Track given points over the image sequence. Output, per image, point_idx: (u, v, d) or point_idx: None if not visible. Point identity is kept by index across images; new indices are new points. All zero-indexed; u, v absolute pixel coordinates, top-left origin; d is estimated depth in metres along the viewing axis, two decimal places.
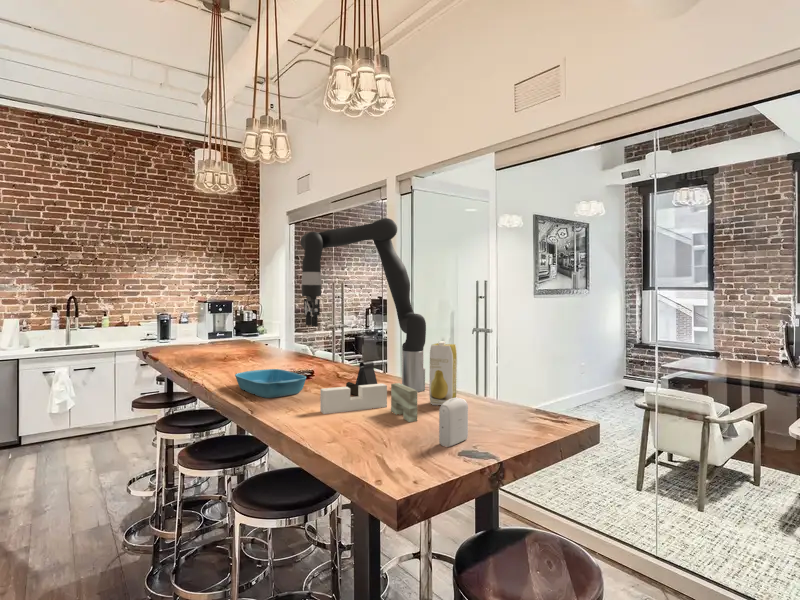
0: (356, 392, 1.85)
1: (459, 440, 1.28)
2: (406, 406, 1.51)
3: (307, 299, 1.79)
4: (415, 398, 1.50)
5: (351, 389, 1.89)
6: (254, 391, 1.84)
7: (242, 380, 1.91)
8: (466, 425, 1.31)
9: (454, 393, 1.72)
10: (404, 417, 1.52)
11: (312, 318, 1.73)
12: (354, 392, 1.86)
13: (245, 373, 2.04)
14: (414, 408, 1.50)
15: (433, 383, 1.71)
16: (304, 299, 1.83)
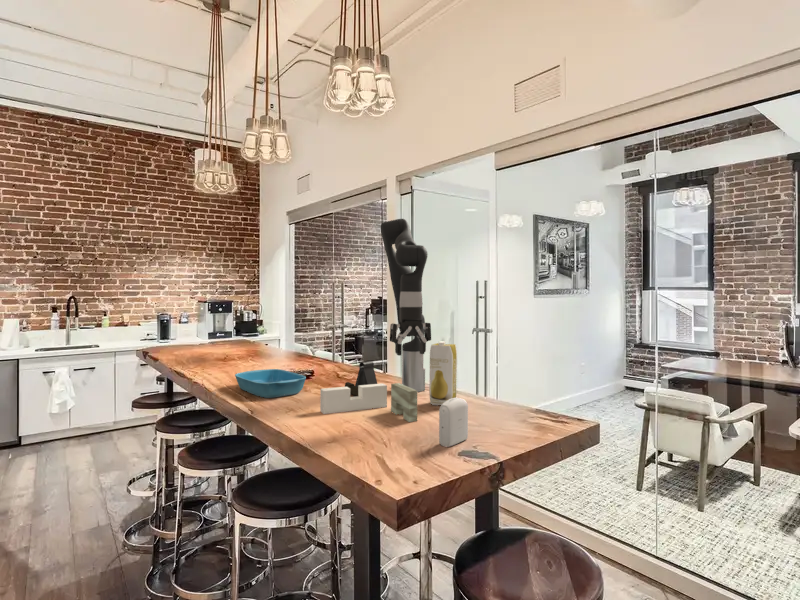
0: (356, 392, 1.84)
1: (459, 440, 1.28)
2: (406, 406, 1.51)
3: (407, 324, 1.50)
4: (415, 398, 1.50)
5: (350, 389, 1.88)
6: (254, 391, 1.84)
7: (242, 380, 1.91)
8: (466, 425, 1.31)
9: (454, 393, 1.72)
10: (404, 417, 1.52)
11: (424, 344, 1.53)
12: (354, 392, 1.86)
13: (245, 373, 2.04)
14: (414, 408, 1.50)
15: (433, 383, 1.71)
16: (396, 324, 1.48)
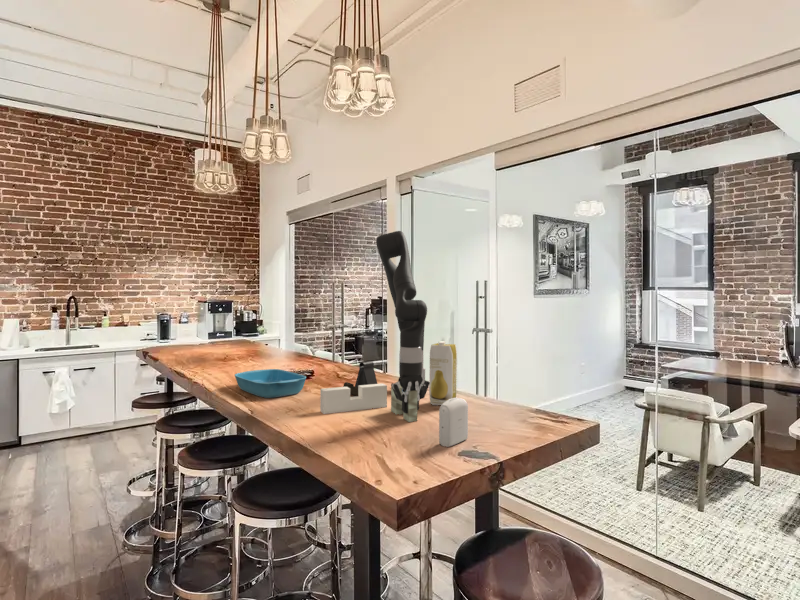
0: (355, 392, 1.84)
1: (459, 440, 1.28)
2: None
3: (407, 379, 1.50)
4: (415, 398, 1.50)
5: (350, 389, 1.88)
6: (254, 391, 1.84)
7: (242, 380, 1.90)
8: (466, 425, 1.31)
9: (454, 393, 1.72)
10: (404, 417, 1.52)
11: (417, 402, 1.52)
12: (353, 392, 1.86)
13: (244, 373, 2.04)
14: (414, 408, 1.50)
15: (433, 383, 1.71)
16: (396, 384, 1.48)
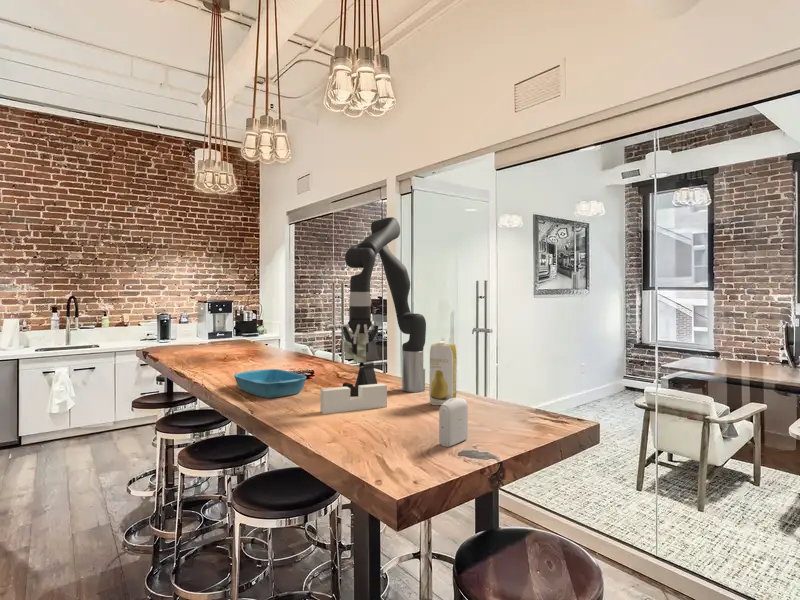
0: (355, 392, 1.84)
1: (459, 440, 1.28)
2: None
3: (356, 322, 1.59)
4: (364, 340, 1.59)
5: None
6: (254, 391, 1.84)
7: (242, 380, 1.90)
8: (466, 425, 1.31)
9: (454, 393, 1.72)
10: (354, 359, 1.61)
11: (366, 345, 1.61)
12: (353, 392, 1.86)
13: (244, 373, 2.04)
14: (362, 349, 1.59)
15: (433, 383, 1.71)
16: (345, 326, 1.57)
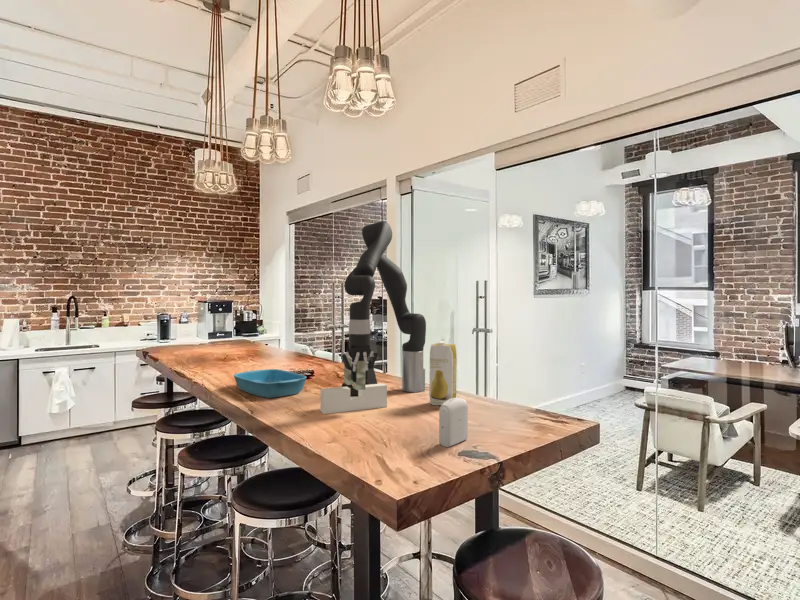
0: (355, 392, 1.84)
1: (459, 440, 1.28)
2: None
3: (355, 350, 1.59)
4: (363, 368, 1.59)
5: None
6: (255, 391, 1.84)
7: (242, 380, 1.90)
8: (466, 425, 1.31)
9: (454, 393, 1.72)
10: (353, 386, 1.62)
11: (366, 372, 1.61)
12: (353, 392, 1.86)
13: (243, 373, 2.04)
14: (362, 377, 1.59)
15: (433, 383, 1.71)
16: (344, 354, 1.57)
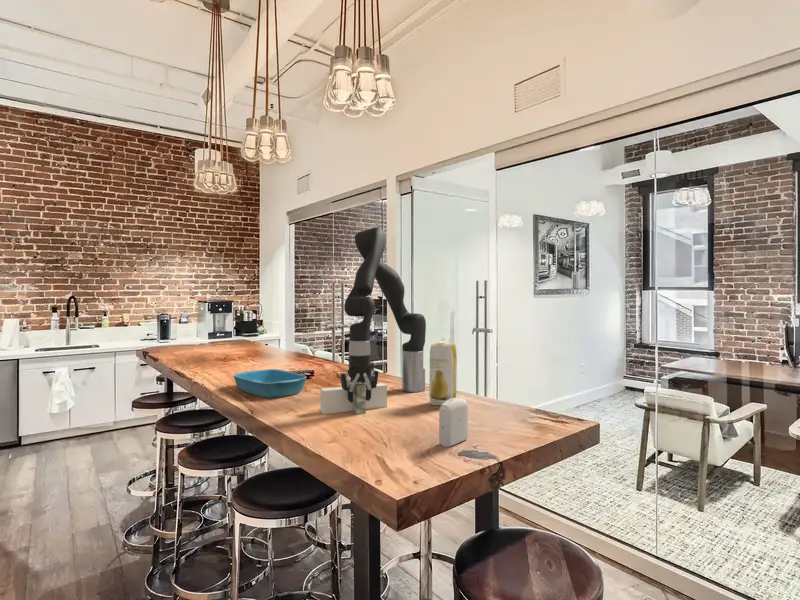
0: None
1: (459, 440, 1.28)
2: (355, 399, 1.60)
3: (355, 371, 1.59)
4: (363, 392, 1.59)
5: None
6: (255, 391, 1.84)
7: (242, 380, 1.90)
8: (466, 425, 1.31)
9: (454, 393, 1.72)
10: (354, 410, 1.62)
11: (369, 392, 1.62)
12: None
13: (243, 373, 2.03)
14: (362, 401, 1.59)
15: (433, 383, 1.71)
16: (344, 374, 1.57)
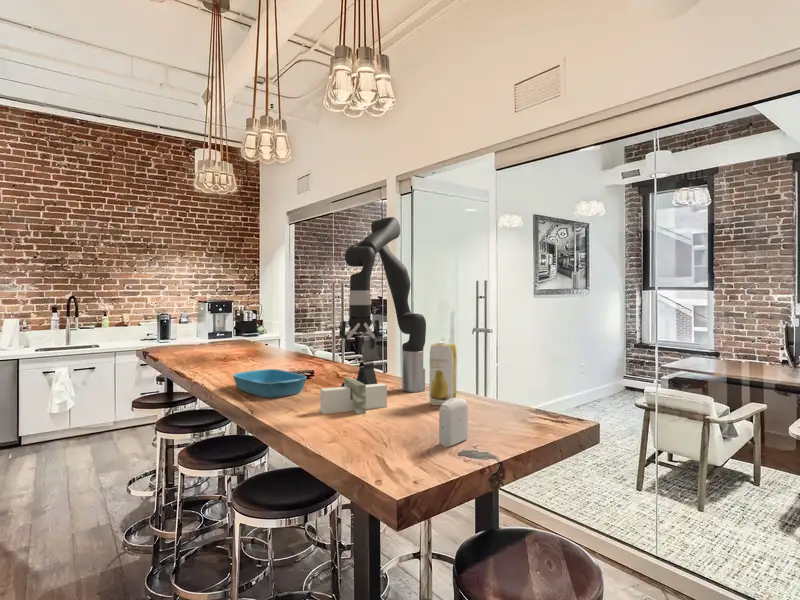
0: None
1: (459, 440, 1.28)
2: (355, 399, 1.60)
3: (356, 321, 1.59)
4: (363, 392, 1.59)
5: None
6: (255, 391, 1.84)
7: (242, 380, 1.90)
8: (466, 425, 1.31)
9: (454, 393, 1.72)
10: (354, 410, 1.62)
11: (373, 340, 1.62)
12: None
13: (242, 373, 2.03)
14: (362, 401, 1.59)
15: (433, 383, 1.71)
16: (344, 321, 1.57)
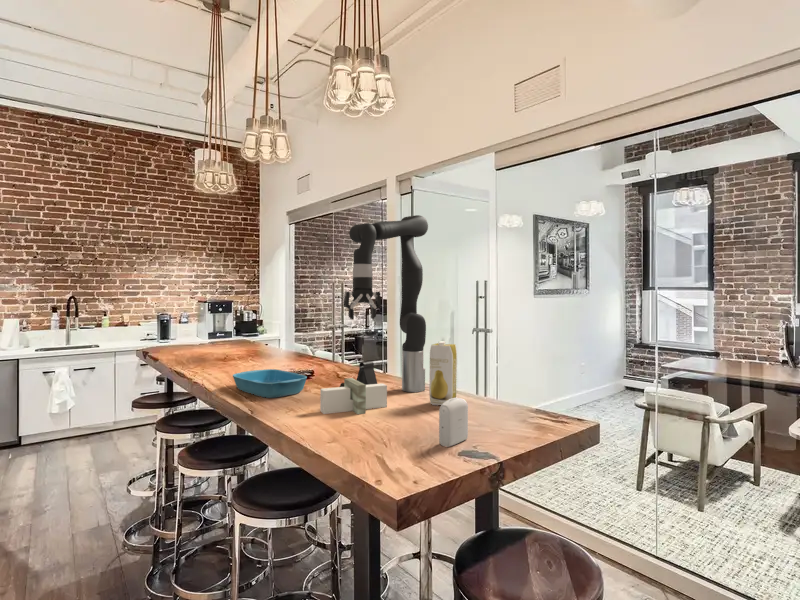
0: None
1: (459, 440, 1.28)
2: (355, 399, 1.60)
3: (359, 292, 1.73)
4: (363, 392, 1.59)
5: None
6: (255, 391, 1.84)
7: (242, 381, 1.89)
8: (466, 425, 1.31)
9: (454, 393, 1.72)
10: (354, 410, 1.62)
11: (374, 310, 1.76)
12: None
13: (242, 374, 2.03)
14: (362, 401, 1.59)
15: (433, 383, 1.71)
16: (348, 292, 1.71)
